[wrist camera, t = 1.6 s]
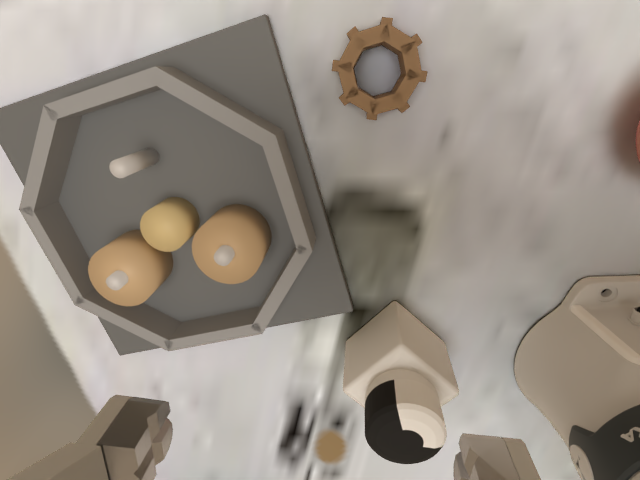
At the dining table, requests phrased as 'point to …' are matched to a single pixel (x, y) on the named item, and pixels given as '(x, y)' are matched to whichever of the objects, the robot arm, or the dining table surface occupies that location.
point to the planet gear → (407, 63)
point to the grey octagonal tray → (179, 194)
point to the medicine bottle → (400, 385)
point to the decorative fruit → (638, 141)
